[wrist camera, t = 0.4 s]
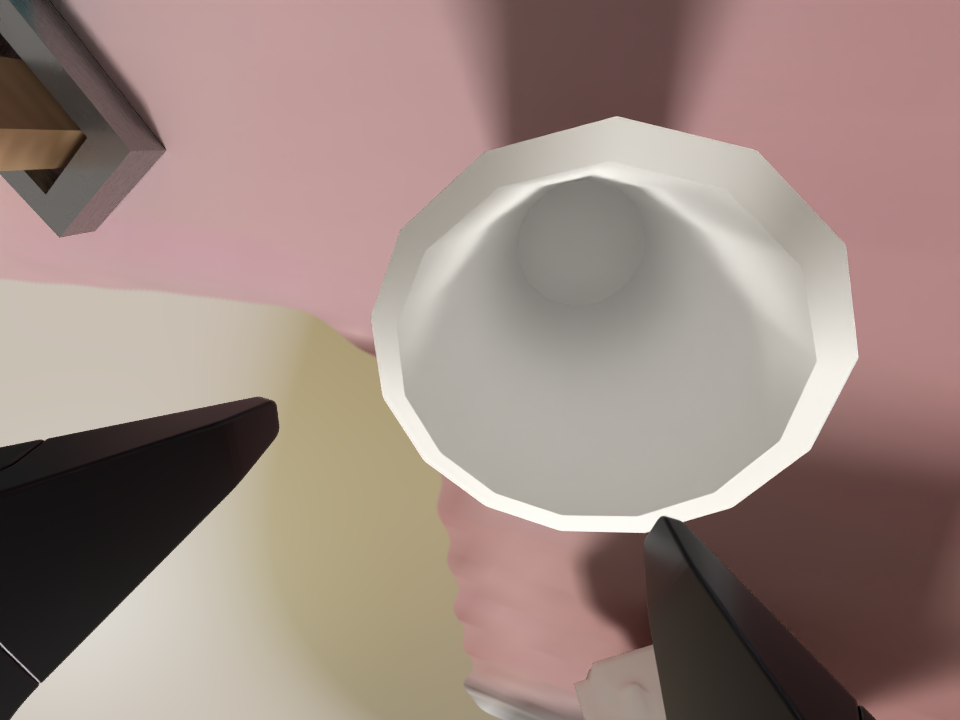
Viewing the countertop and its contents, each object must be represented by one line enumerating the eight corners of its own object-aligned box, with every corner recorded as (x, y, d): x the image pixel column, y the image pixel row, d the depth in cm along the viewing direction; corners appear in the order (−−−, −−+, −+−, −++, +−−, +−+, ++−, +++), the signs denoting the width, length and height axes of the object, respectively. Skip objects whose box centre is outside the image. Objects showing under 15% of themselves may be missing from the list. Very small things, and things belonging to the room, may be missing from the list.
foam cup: (455, 192, 19) (292, 259, 8) (649, 88, 16) (815, -35, 5) (529, 352, 23) (484, 552, 12) (703, 296, 19) (874, 504, 8)
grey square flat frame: (23, -34, 19) (-33, -51, 17) (165, 150, 22) (130, 151, 20) (-35, 87, 22) (-85, 83, 21) (94, 231, 25) (59, 237, 24)
